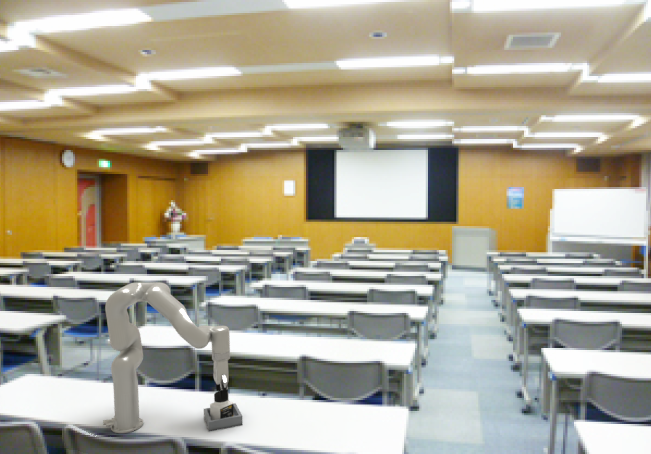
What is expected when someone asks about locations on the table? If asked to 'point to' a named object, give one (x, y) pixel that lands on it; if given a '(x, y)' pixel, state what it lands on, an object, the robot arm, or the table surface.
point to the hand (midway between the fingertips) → (222, 394)
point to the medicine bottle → (221, 407)
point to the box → (223, 420)
